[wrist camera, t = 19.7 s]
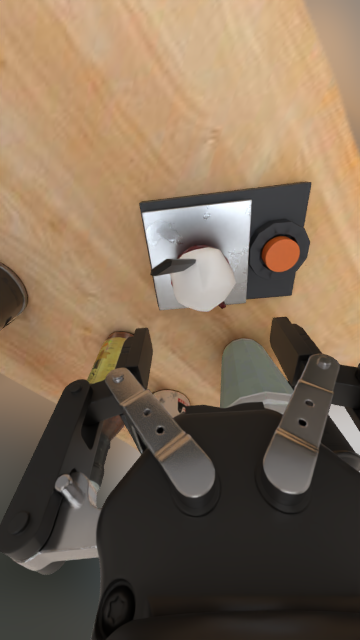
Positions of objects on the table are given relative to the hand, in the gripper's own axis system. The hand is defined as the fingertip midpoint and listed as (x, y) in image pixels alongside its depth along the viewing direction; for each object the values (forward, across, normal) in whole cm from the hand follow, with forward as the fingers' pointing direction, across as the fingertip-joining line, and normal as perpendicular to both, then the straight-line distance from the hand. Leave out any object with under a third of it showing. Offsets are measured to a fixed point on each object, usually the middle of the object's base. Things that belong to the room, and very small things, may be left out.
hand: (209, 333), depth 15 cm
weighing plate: (+14, 0, 0) cm, 14 cm away
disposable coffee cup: (+17, -6, +17) cm, 25 cm away
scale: (+17, -3, 0) cm, 17 cm away
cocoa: (+13, 0, 0) cm, 13 cm away
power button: (+14, -9, 0) cm, 17 cm away
